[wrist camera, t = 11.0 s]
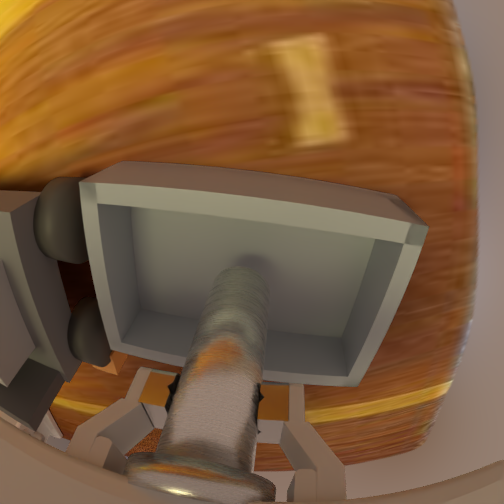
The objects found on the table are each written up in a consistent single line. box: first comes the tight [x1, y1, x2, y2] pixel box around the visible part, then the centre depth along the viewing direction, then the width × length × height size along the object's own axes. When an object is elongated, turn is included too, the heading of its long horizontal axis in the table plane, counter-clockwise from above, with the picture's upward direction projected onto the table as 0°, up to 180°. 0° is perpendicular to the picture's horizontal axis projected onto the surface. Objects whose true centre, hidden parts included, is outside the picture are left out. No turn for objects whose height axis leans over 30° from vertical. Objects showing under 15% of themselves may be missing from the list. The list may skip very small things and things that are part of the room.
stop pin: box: [122, 266, 276, 504], centre depth 11 cm, size 4×4×11 cm
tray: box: [79, 161, 429, 387], centre depth 16 cm, size 11×16×4 cm
